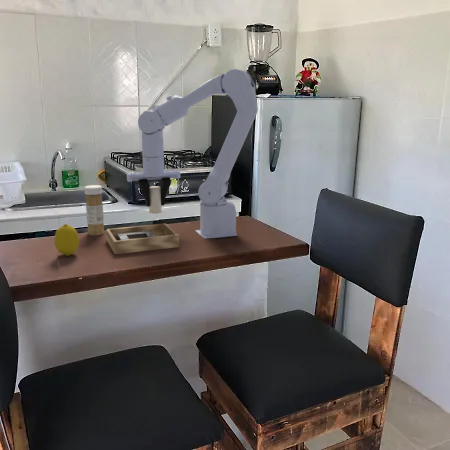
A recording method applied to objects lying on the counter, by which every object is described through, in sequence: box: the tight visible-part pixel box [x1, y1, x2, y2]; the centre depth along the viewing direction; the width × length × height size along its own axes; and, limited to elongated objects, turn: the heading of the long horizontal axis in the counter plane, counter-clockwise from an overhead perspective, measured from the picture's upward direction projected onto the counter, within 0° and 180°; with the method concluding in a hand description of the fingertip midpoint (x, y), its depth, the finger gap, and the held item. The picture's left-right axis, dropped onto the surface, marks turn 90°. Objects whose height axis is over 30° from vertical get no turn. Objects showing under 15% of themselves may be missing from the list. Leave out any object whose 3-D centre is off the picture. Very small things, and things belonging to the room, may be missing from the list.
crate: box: [105, 223, 180, 255], centre depth 129 cm, size 16×12×4 cm
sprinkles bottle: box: [84, 184, 106, 236], centre depth 137 cm, size 5×5×14 cm
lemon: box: [54, 223, 80, 257], centre depth 119 cm, size 6×6×8 cm
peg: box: [148, 185, 163, 215], centre depth 140 cm, size 3×3×7 cm
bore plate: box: [117, 230, 157, 241], centre depth 129 cm, size 9×9×2 cm
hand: (155, 205), depth 140 cm, fingers closed on peg, 3 cm apart
